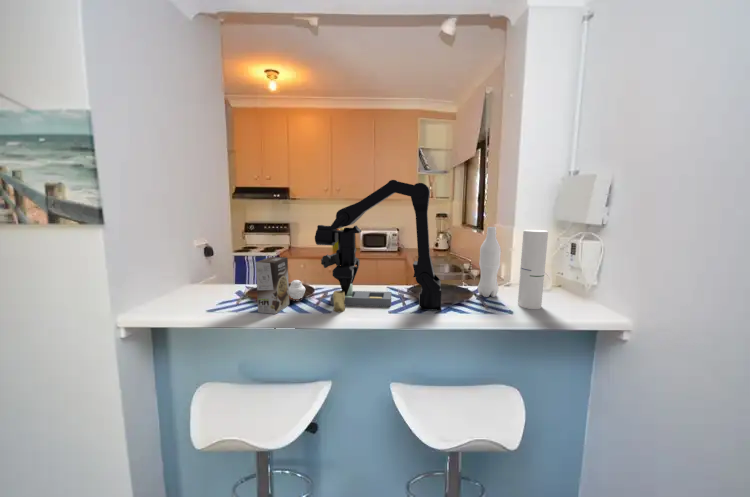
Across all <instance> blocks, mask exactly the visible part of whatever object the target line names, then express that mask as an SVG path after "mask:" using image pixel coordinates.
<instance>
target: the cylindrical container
mask: <svg viewBox="0 0 750 497" xmlns="http://www.w3.org/2000/svg"><path fill="white" fill-rule="evenodd" d="M548 239H549V231H548V230H543V229H523V233H522V243H521V244H522V246H521V256H520V257H521V258H520V268H519V280H518V282H519V283H518V295H517V306H519V307H520V308H524V309H529V310H539V309H541V308H542V305H543V304H542V303H543V293H544V283H545V282H544V280H545V271H546V259H547V250H548V249H547V248H548Z"/></svg>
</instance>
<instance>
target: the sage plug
mask: <svg viewBox="0 0 750 497" xmlns="http://www.w3.org/2000/svg"><path fill="white" fill-rule="evenodd" d="M353 287H354V286H353V283H351V284H350V287H349V290H348V293H347V295H345V296H352V297H353V291H354V288H353Z"/></svg>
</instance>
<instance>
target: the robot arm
mask: <svg viewBox="0 0 750 497" xmlns="http://www.w3.org/2000/svg"><path fill="white" fill-rule="evenodd" d="M430 190H431V189H430V187H429V186H428V185H427V184H425V183H422V182H417V183H414V184H413V183H412V184H410V183H408V182H402V181H399V180H397V179H396V180H395V179H391V180H390V179H389V181H387V183H386V184H384V185H383V186H381V187H380V188H378V189H376V190H375V191H373V192H372V193H370V194H369V195H367V196H366V197H364V198H362V199H361V200H359V201H358V202H356V203H353V204H350V205H348V206H346V207H342V208H341V209H339V210H338V211H337V212H336V214H335V220H334V221H333V222H332V224H330V225H323V224H318V225H317V226H316V227H317V229H316V231H315V235H314V242H315V244H316V245H317V246H331V247H332V246H335V244H338V245H337V246H338V247H337V248H338V249H337V250H336V251H335V253H332V254H326V255H323V256H322V258H321V259H320V262H321V263H320V264H321V265H322V266H323V268H324V269H326V268H329V267H331V266H334V265H335V267H334V269H333V270H332V277H333V278H334V279H336V280H337V281H338V282H339V285H340V289H341V290H342V291H345V295H347V293H348V290H349V287H350V284H351V283H352V284H353V283H354V281H355V278H356V276H357V273H358V271H359V268H360V264H361V263H360V259H359V258H358V257H356V253H357V248H356V234H359V233H362V229H360V228H359V227H358V225H354V224H356V222H357V221H358V220H360V219H361V218H362V216H364V214H366V213H367V211H369V210H370V209H373V208H374V207H376V206H377V205H378V204H380V203H382V202H384V201H385V200H387V199H388V198H390V197H391V196H393V195H394V194H398V195H403V196H407V197H410V198H411V203H412V206H413V210H414V214H415V224H416V227H415V228H416V240H417V257H418V258H417V260H414V261H413V264H412V267H413V276H412V277H413V278H415V281H416V283H417V284H418V285H420V286H421V287H420V291H419V292H418V305H419V306H418V307H420V310H422V311H442V310H443V309H442V289H441V280H442V279H441V278H439V276H438V275H436V274H435V268H434V265H433V261H432V258H431V252H430V234H429V232H430V231H429V230H430V229H429V218H428V217H429V216H428V211H429V205H430V196H431V191H430ZM351 225H354V226H353V227H349V226H351ZM341 228H343V229H342V230H341ZM339 229H340V230H339Z"/></svg>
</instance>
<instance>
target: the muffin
mask: <svg viewBox="0 0 750 497" xmlns="http://www.w3.org/2000/svg"><path fill="white" fill-rule="evenodd" d="M305 292H306V287H305V286H304V285H303V283H302V281H301V280H299V279H293V280H292V281H291V283H290V285H289V298H293V299H300V298H302V299H303V297H304V295H305Z"/></svg>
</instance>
